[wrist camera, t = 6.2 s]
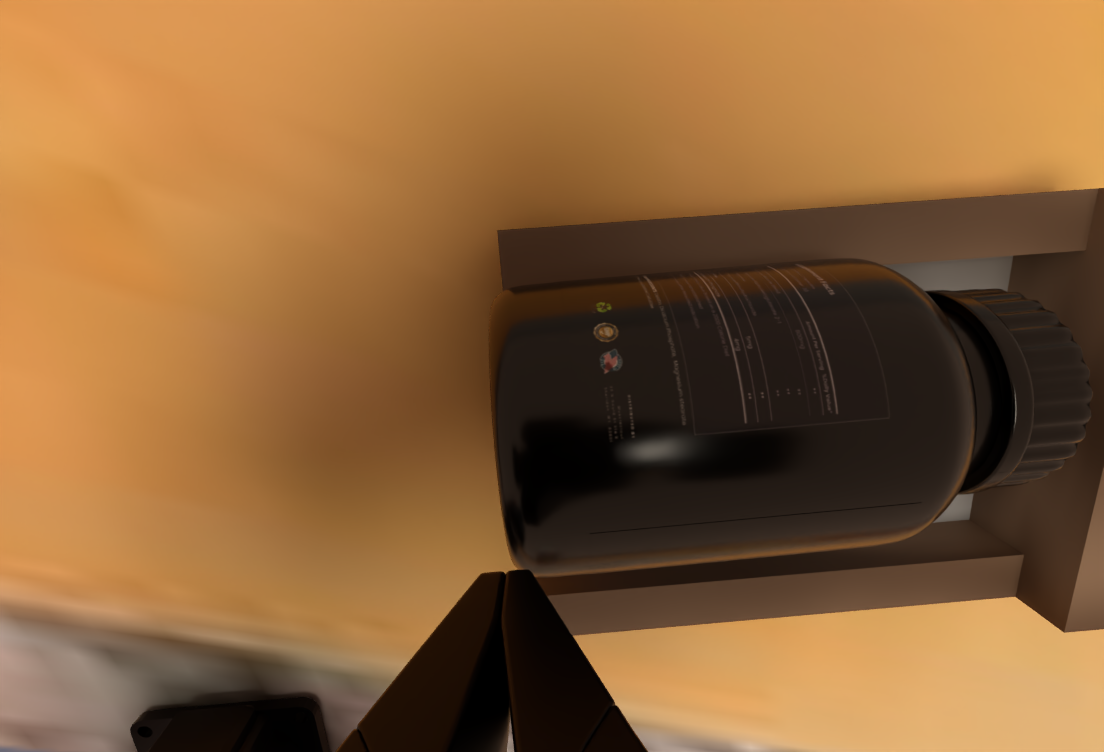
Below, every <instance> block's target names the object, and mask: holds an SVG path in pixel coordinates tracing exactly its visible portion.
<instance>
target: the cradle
mask: <svg viewBox="0 0 1104 752" xmlns="http://www.w3.org/2000/svg"><path fill="white" fill-rule="evenodd" d="M497 231H498V242H499V253H500V264H501V274H502V285H503V291H505V290H506V289H509V288H511V287H516V286H521V285H530V284H540V283H551V282H558V281H569V280H581V279H593V278H605V277H616V276H628V275H640V274H652V273H663V272H675V271H687V270H699V269H710V268H722V267H734V266H746V265H757V264H769V263H781V262H793V261H805V260H817V259H831V258H833V259H836V258H856V259H864V260H868V261H872V262H875V263H878V264H881V265H883V266H886V267H888V268H890V269H893V270H895V271H897V272H898V273H900V274H902V275H903V276H905V277H907V278H908V279H910V280H911V281H912V282H914V283H915V284H916V285H918V286H919V287H920V288H921V289H923V290H924V291H929V290H950V291H959V290H970V289H1002V290H1004V291H1006V292H1018V293H1021V294H1022V295H1023V296H1024V297H1025V298H1027V299H1031V300H1037V301H1039V302H1040V304H1041V305H1042V306H1043V307H1044V309H1046V310H1050V311H1052V312H1054V313H1055V314H1056V315H1057V317H1058V319H1059V321H1060V323H1062V324H1063V325H1065V326H1067V327H1068V328H1069V329H1070V330H1071V333H1072V336H1073V340H1074V341H1075V342H1076V343H1077V344H1078V345H1079V346H1080V347H1081V348H1082V352H1083V361H1084V362H1085V364H1086V365H1087V367H1088V368H1089V370H1090V376H1089V384H1090V386H1091V389H1092V392H1093V396H1092V399H1091V401H1090V409H1091V418H1090V420H1089V421H1088V423H1087V424H1086V435H1085V438H1084V439H1083V440H1082V441H1080V442H1079V443H1078V445H1077V450H1076V454H1075V455H1074V456H1072V457H1070V458H1067V459H1066V460H1065V462H1064V465H1063V467H1062V468H1061V469H1059V470H1055V471H1051V472H1050V473H1049V474H1048V475H1047V476H1046V477H1045V478H1043V479H1040V480H1034V481H1030V482H1028V483H1025V484H1022V485H1015V486H1005V487H994V488H991V489H988V490H985V491H982V492H979V493H973V494H964V495H957V496H956V497H955V499H954V500H953V501H952V503H951V504H950V505H949V507H948V508H947V509H946V510H945V511H944V512H943V513H942V515H941V516H940V517H939V518H938V519H937V520H936V521H934V522H933V523H932V524H930V525H929V526H928V527H926V528H925V529H924V530H923V531H921V532H919V533H918V534H916V535H914V536H912V537H910V538H908V539H905V540H902V541H899V542H896V543H891V544H885V545H879V546H872V547H864V548H855V549H845V550H834V551H824V552H814V553H804V554H794V555H783V556H773V557H763V558H753V559H742V560H732V561H722V562H712V563H701V564H691V565H681V566H671V567H660V568H650V569H640V570H630V571H619V572H609V573H599V574H584V575H573V576H562V577H549V578H537V577H535V578H536V579H537V581H538V583H539V584H540V586H541V587H542V589H543V590H544V592H545V594H546V595H547V597H548V598H549V600H550V601H551V603H552V605H553V606H554V608H555V609H556V611H557V612H558V614H559V615H560V617H561V619H562V620H563V622H564V623H565V625H566V626H567V628H568V630H569V631H570V633H571V634H572V636H573V635H585V634H596V633H607V632H619V631H630V630H641V629H653V628H664V627H676V626H687V625H698V624H710V623H721V622H732V621H744V620H755V619H766V618H778V617H789V616H801V615H812V614H823V613H835V612H846V611H857V610H869V609H880V608H892V607H903V606H914V605H926V604H937V603H948V602H960V601H971V600H983V599H994V598H1005V597H1017V598H1018V599H1019V600H1021V601H1022V602H1023V603H1025V604H1026V605H1028V606H1029V607H1030V608H1032V609H1033V610H1034V611H1036V612H1037V613H1038V614H1040V615H1041V616H1042V617H1044V618H1045V619H1046V620H1048V621H1049V622H1051V623H1052V624H1053V625H1055V626H1056V627H1057V628H1059V629H1060V630H1061V631H1063V632H1064V633H1065V632H1076V631H1087V630H1099V629H1104V188H1099V189H1085V190H1071V191H1056V192H1042V193H1027V194H1013V195H999V196H984V197H970V198H956V199H941V200H927V201H913V202H898V203H884V204H870V205H855V206H841V207H827V208H812V209H798V210H784V211H769V212H755V213H741V214H726V215H712V216H697V217H683V218H669V219H654V220H640V221H626V222H611V223H597V224H583V225H568V226H554V227H540V228H525V229H511V230H497Z"/></svg>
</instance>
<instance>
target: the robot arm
mask: <svg viewBox="0 0 1104 752" xmlns="http://www.w3.org/2000/svg"><path fill="white" fill-rule="evenodd" d="M510 717H511V726H512V735H513V743H514V752H648V751H647V749H646V748H645V747H644V745H643V744H642V742H641V741H640V739H639V738H638V736H637V735H636V733H635V732H634V731H633V729H632V728H631V726H630V725H629V723H628V722H627V720H626V718H625V717H624V715H623V714H622V712H621V711H620V709H619V707H618V706H616V705H615V702H614V700H613V699H612V697H611V695H610V694H609V692H608V691H607V689H606V688H605V686H604V684H603V683H602V681H601V680H600V678H599V677H598V675H597V673H596V672H595V670H594V669H593V667H592V666H591V664H590V662H589V661H588V659H587V658H586V656H585V655H584V653H583V652H582V650H581V648H580V647H579V645H578V644H577V642H576V641H575V639H574V637H573V636H572V634H571V633H570V631H569V630H568V628H567V626H566V625H565V623H564V622H563V620H562V619H561V617H560V615H559V614H558V612H557V611H556V609H555V608H554V606H553V605H552V603H551V601H550V600H549V598H548V597H547V595H546V594H545V592H544V590H543V589H542V587H541V586H540V584H539V583H538V581H537V579H536V578H535V576H534V575H533V573H532V572H531V571H530V570H529V569H524V570H512V571H508V572H507V573H506V575H505V573H504V572H489V573H482V574H480V575H479V576H478V578H477V579H476V580H475V581H474V582H473V584H472V585H471V586H470V587H469V589H468V590H467V591H466V592H465V593H464V595H463V596H462V597H461V598H460V600H459V601H458V602H457V603H456V605H455V606H454V607H453V608H452V609H451V611H450V612H449V613H448V614H447V616H446V617H445V618H444V619H443V621H442V622H441V623H440V624H439V625H438V627H437V628H436V629H435V630H434V632H433V633H432V634H431V635H430V637H429V638H428V639H427V640H426V641H425V643H424V644H423V645H422V646H421V648H420V649H419V650H418V651H417V652H416V654H415V655H414V656H413V657H412V659H411V660H410V661H409V662H408V664H407V665H406V666H405V667H404V668H403V670H402V671H401V672H400V673H399V675H398V676H397V677H396V678H395V680H394V681H393V682H392V683H391V684H390V686H389V687H388V688H387V689H386V691H385V692H384V693H383V694H382V695H381V697H380V698H379V699H378V700H377V702H376V703H375V704H374V705H373V707H372V708H371V709H370V710H369V711H368V713H367V714H366V715H365V716H364V718H363V719H362V720H361V721H360V723H359V724H358V726H357V729H354V730H353V731H352V732H351V733H350V734H349V736H348V737H347V738H346V739H345V741H344V742H343V743H342V744H341V746H340V747H339V748H338V749H337V750H336V752H507V743H508V734H509V723H510ZM130 731H131V735H132V738H133V741H134V743H135V746H136V749H137V752H330V751H329V747H328V743H327V738H326V734H325V730H324V726H323V722H322V717H321V713H320V709H319V706H318V704H317V702H316V701H314V700H313V699H311V698H308V697H298V698H287V699H276V700H265V701H254V702H242V703H231V704H220V705H209V706H198V707H187V708H175V709H164V710H153V711H147V712H144V713H142V714H141V715H140V716H139V717H138V719H137V720H136V721H135V722H134V723H133V725H132V726H131V729H130Z"/></svg>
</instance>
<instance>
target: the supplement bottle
mask: <svg viewBox="0 0 1104 752" xmlns="http://www.w3.org/2000/svg"><path fill="white" fill-rule="evenodd" d="M489 368H490V391H491V408H492V423H493V435H494V447H495V458H496V468H497V477H498V486H499V495H500V503H501V510H502V517H503V524H504V530H505V536H506V541H507V546H508V550H509V554H510V557H511V560H512V562H513V564H514V566H515V567H516V568H517V569H518V570H524V569H529V570H530V571H531V572H532V573H533V575H534V576H535V577H537V578H549V577H562V576H573V575H584V574H599V573H609V572H619V571H630V570H640V569H650V568H660V567H671V566H681V565H691V564H701V563H712V562H722V561H732V560H742V559H753V558H763V557H773V556H783V555H794V554H804V553H814V552H824V551H834V550H845V549H855V548H864V547H872V546H879V545H885V544H891V543H896V542H899V541H902V540H905V539H908V538H910V537H912V536H914V535H916V534H918V533H919V532H921V531H923V530H924V529H925V528H926V527H928V526H929V525H930V524H932V523H933V522H934V521H936V520H937V519H938V518H939V517H940V516H941V515H942V513H943V512H944V511H945V510H946V509H947V508H948V507H949V505H950V504H951V503H952V501H953V500H954V499H955V497H956V496H957V495H964V494H973V493H979V492H982V491H985V490H988V489H991V488H994V487H1005V486H1015V485H1022V484H1025V483H1028V482H1030V481H1034V480H1040V479H1043V478H1045V477H1046V476H1047V475H1048V474H1049V473H1050V472H1051V471H1055V470H1059V469H1061V468H1062V467H1063V465H1064V462H1065V460H1066V459H1067V458H1070V457H1072V456H1074V455H1075V454H1076V450H1077V445H1078V443H1079V442H1080V441H1082V440H1083V439H1084V438H1085V435H1086V424H1087V423H1088V421H1089V420H1090V418H1091V409H1090V401H1091V399H1092V396H1093V392H1092V389H1091V386H1090V384H1089V376H1090V370H1089V368H1088V367H1087V365H1086V364H1085V362H1084V361H1083V352H1082V348H1081V347H1080V346H1079V345H1078V344H1077V343H1076V342H1075V341H1074V340H1073V336H1072V333H1071V330H1070V329H1069V328H1068V327H1067V326H1065V325H1063V324H1062V323H1060V321H1059V319H1058V317H1057V315H1056V314H1055V313H1054V312H1052V311H1050V310H1046V309H1044V307H1043V306H1042V305H1041V304H1040V302H1039V301H1037V300H1031V299H1027V298H1025V297H1024V296H1023V295H1022V294H1021V293H1018V292H1006V291H1004V290H1002V289H970V290H959V291H950V290H929V291H924V290H923V289H921V288H920V287H919V286H918V285H916V284H915V283H914V282H912V281H911V280H910V279H908V278H907V277H905V276H903V275H902V274H900V273H898V272H897V271H895V270H893V269H890V268H888V267H886V266H883V265H881V264H878V263H875V262H872V261H868V260H864V259H856V258H836V259H833V258H831V259H817V260H805V261H793V262H781V263H769V264H757V265H746V266H734V267H722V268H710V269H699V270H687V271H675V272H663V273H652V274H640V275H628V276H616V277H605V278H593V279H581V280H569V281H558V282H551V283H540V284H530V285H521V286H516V287H511V288H509V289H506V290H505V291H503V292H502V293H500V294H499V295H498V296H497V297H496V298H495V299H494V301H493V303H492V305H491V310H490V320H489Z"/></svg>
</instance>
